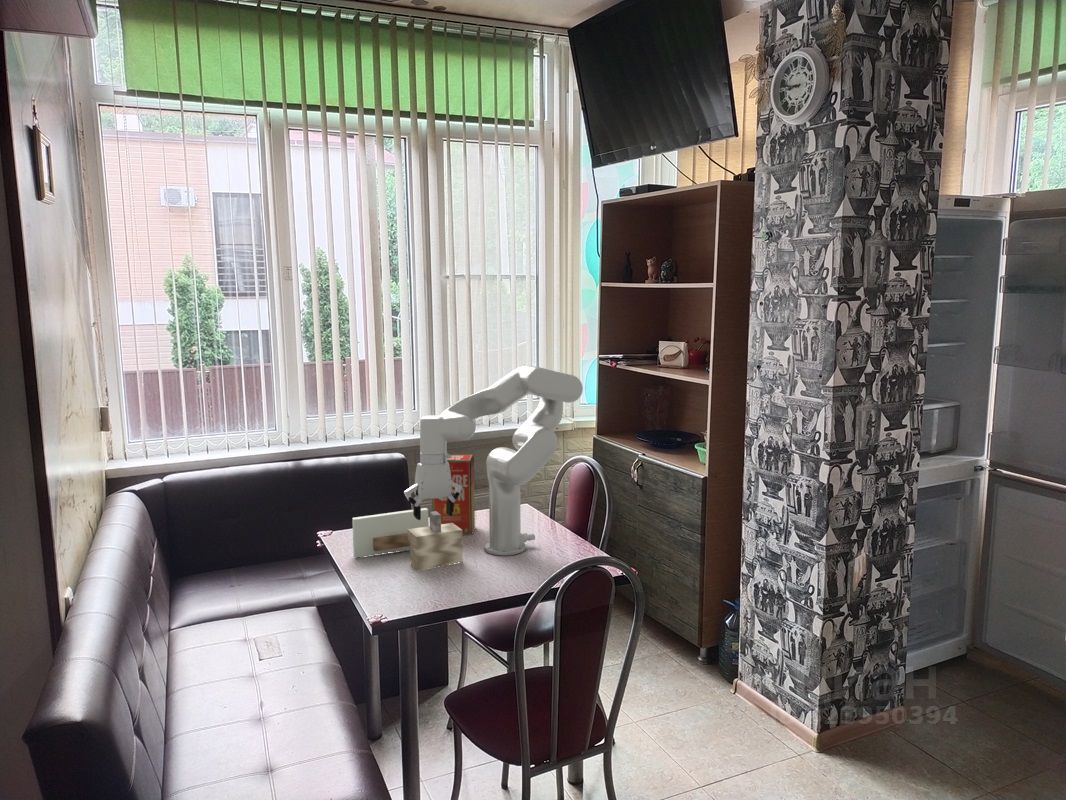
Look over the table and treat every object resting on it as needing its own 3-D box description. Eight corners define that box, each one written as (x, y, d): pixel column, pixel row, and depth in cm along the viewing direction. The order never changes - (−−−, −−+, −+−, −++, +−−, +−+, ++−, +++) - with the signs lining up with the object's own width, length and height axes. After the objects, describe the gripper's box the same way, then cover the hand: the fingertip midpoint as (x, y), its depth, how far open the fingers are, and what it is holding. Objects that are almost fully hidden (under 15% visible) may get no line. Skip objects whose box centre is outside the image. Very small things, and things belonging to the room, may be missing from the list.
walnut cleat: (411, 543, 232) (411, 532, 232) (413, 545, 230) (413, 534, 230) (373, 549, 227) (373, 538, 226) (375, 551, 225) (374, 540, 225)
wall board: (426, 545, 237) (426, 507, 235) (429, 546, 235) (428, 509, 233) (353, 556, 226) (352, 517, 225) (355, 558, 225) (353, 519, 223)
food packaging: (431, 534, 247) (430, 459, 244) (436, 526, 256) (434, 453, 253) (472, 535, 247) (471, 460, 243) (475, 526, 256) (474, 454, 253)
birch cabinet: (452, 554, 228) (452, 506, 226) (462, 563, 221) (462, 513, 219) (408, 562, 222) (406, 512, 220) (417, 571, 215) (415, 519, 213)
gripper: (456, 454, 224) (456, 510, 226) (400, 458, 216) (400, 517, 218) (466, 458, 217) (466, 516, 219) (408, 463, 209) (409, 523, 212)
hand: (433, 516), depth 219 cm, fingers open, 9 cm apart
